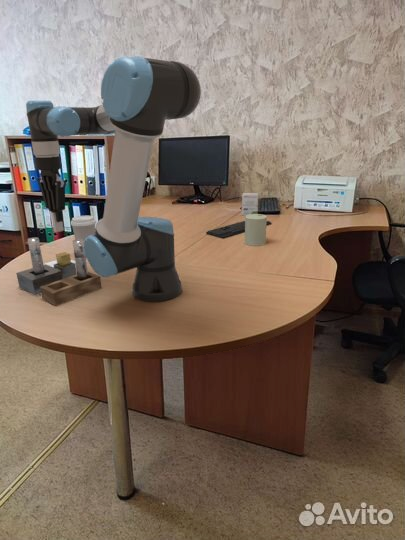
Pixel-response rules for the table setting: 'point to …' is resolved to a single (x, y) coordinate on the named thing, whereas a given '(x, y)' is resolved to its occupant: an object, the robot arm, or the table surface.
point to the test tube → (80, 259)
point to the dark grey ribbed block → (230, 230)
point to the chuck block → (44, 277)
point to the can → (255, 229)
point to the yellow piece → (63, 259)
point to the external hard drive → (56, 263)
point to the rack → (69, 288)
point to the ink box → (249, 203)
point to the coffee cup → (83, 227)
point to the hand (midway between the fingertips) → (58, 230)
